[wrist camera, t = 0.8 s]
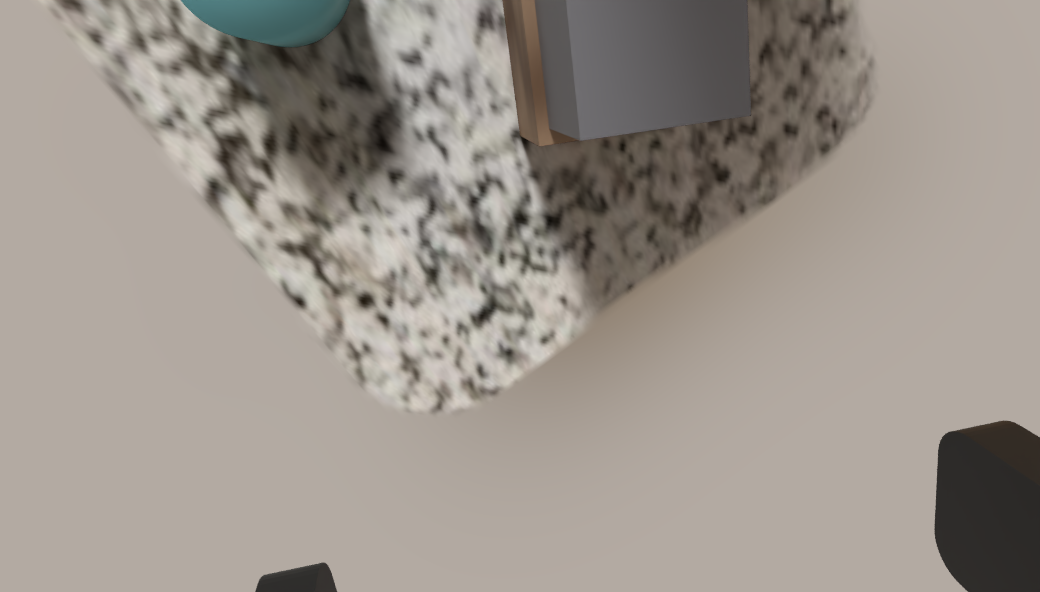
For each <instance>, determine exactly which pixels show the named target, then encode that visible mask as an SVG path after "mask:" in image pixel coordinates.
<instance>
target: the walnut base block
mask: <svg viewBox="0 0 1040 592" xmlns="http://www.w3.org/2000/svg"><path fill="white" fill-rule="evenodd" d="M502 1H503V8H504V16H505V24H506V31H507V39H508V46H509V54H510V62H511V69H512V77H513V85H514V92H515V100H516V107H517V115H518V123H519V130H520V136H522V137H524V138H525V139H527V140H529V141H531V142H532V143H534V144H536V145H538V146H546V145H552V144H559V143H565V142H572V141H579V140H577V139H575V138H572V137H569V136H567V135H564V134H562V133H559V132H557V131H554V130H551V129H549V122H548V113H547V105H546V96H545V87H544V79H543V70H542V61H541V52H540V44H539V35H538V26H537V18H536V9H535V0H502Z"/></svg>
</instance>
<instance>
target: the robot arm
mask: <svg viewBox="0 0 1040 592" xmlns="http://www.w3.org/2000/svg"><path fill="white" fill-rule="evenodd" d="M935 539H936V543H937V547H938V550H939V553H940V555H941V557H942V560H943V561H944V563H945V565H946V567H947V569H948V570H949V572H950V573H951V574H952V576H953V577H954V578H955V579H956V580H957V581H958V582H959V583H960V584H961V585H962V586H963V587H964V588H965V589H966V590H967V591H968V592H1040V437H1038V436H1036V435H1035V434H1033V433H1031V432H1030V431H1028V430H1027V429H1025V428H1023V427H1022V426H1020V425H1018V424H1016V423H1014V422H1011V421H999V422H994V423H990V424H985V425H980V426H976V427H971V428H966V429H962V430H957V431H952V432H948V433H947V434H945V435H944V436H943V437H942V439H941V441H940V444H939V450H938V469H937V490H936V510H935ZM256 592H337V590H336V587H335V583H334V580H333V577H332V573H331V571H330V569H329V567H328V565H327V564H326V563H319V564H315V565H310V566H305V567H300V568H295V569H291V570H286V571H281V572H277V573H272V574H267V575H264V576H262V577H261V579H260V580H259V583H258V585H257V588H256Z"/></svg>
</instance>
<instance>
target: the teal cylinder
mask: <svg viewBox="0 0 1040 592" xmlns="http://www.w3.org/2000/svg"><path fill="white" fill-rule="evenodd" d="M181 1H182V2H183V4H184V5H185V6H186V7H187V8H188V9H189V10H190V11H191V12H192V13H193V14H194V15H196V16H197V17H198V18H199V19H200V20H202V21H203V22H205V23H206V24H208V25H209V26H211V27H213V28H215V29H217V30H219V31H221V32H223V33H226V34H229V35H232V36H235V37H239V38H243V39H248V40H252V41H256V42H261V43H265V44H269V45H274V46H279V47H300V46H305V45H309V44H311V43H314V42H316V41H318V40H320V39H322V38H324V37H325V36H326V35H328V34H329V33H330V32H331V31H332V30H333V29H334V28H335V27H336V26H337V25H338V24H339V22H340V21H341V19H342V18H343V16H344V14H345V12H346V10H347V7H348V5H349V1H350V0H181Z"/></svg>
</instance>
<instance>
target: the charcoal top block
mask: <svg viewBox="0 0 1040 592" xmlns="http://www.w3.org/2000/svg"><path fill="white" fill-rule="evenodd" d="M535 9H536V18H537V26H538V35H539V44H540V52H541V61H542V70H543V79H544V87H545V96H546V105H547V113H548V122H549V129H551V130H554V131H557V132H559V133H562V134H564V135H567V136H569V137H572V138H575V139H577V140H580V141H582V140H589V139H596V138H603V137H609V136H616V135H623V134H630V133H637V132H643V131H650V130H657V129H664V128H670V127H677V126H684V125H691V124H698V123H704V122H711V121H718V120H725V119H731V118H738V117H745V116H751V99H750V68H749V37H748V5H747V0H535Z"/></svg>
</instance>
